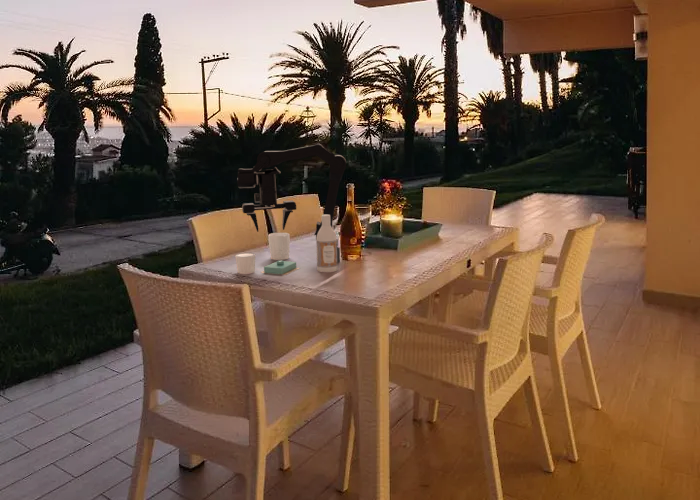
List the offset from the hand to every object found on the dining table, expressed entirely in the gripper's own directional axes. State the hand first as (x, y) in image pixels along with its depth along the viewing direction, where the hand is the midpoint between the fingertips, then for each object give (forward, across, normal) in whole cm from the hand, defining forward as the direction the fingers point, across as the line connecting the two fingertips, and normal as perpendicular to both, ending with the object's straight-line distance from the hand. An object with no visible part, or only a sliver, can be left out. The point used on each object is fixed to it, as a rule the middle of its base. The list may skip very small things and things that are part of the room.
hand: (270, 230), depth 216 cm
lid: (+12, -1, +12) cm, 17 cm away
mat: (+13, -1, +12) cm, 18 cm away
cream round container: (+13, +10, +10) cm, 20 cm away
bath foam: (+14, -17, +16) cm, 27 cm away
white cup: (+13, -4, -8) cm, 16 cm away
